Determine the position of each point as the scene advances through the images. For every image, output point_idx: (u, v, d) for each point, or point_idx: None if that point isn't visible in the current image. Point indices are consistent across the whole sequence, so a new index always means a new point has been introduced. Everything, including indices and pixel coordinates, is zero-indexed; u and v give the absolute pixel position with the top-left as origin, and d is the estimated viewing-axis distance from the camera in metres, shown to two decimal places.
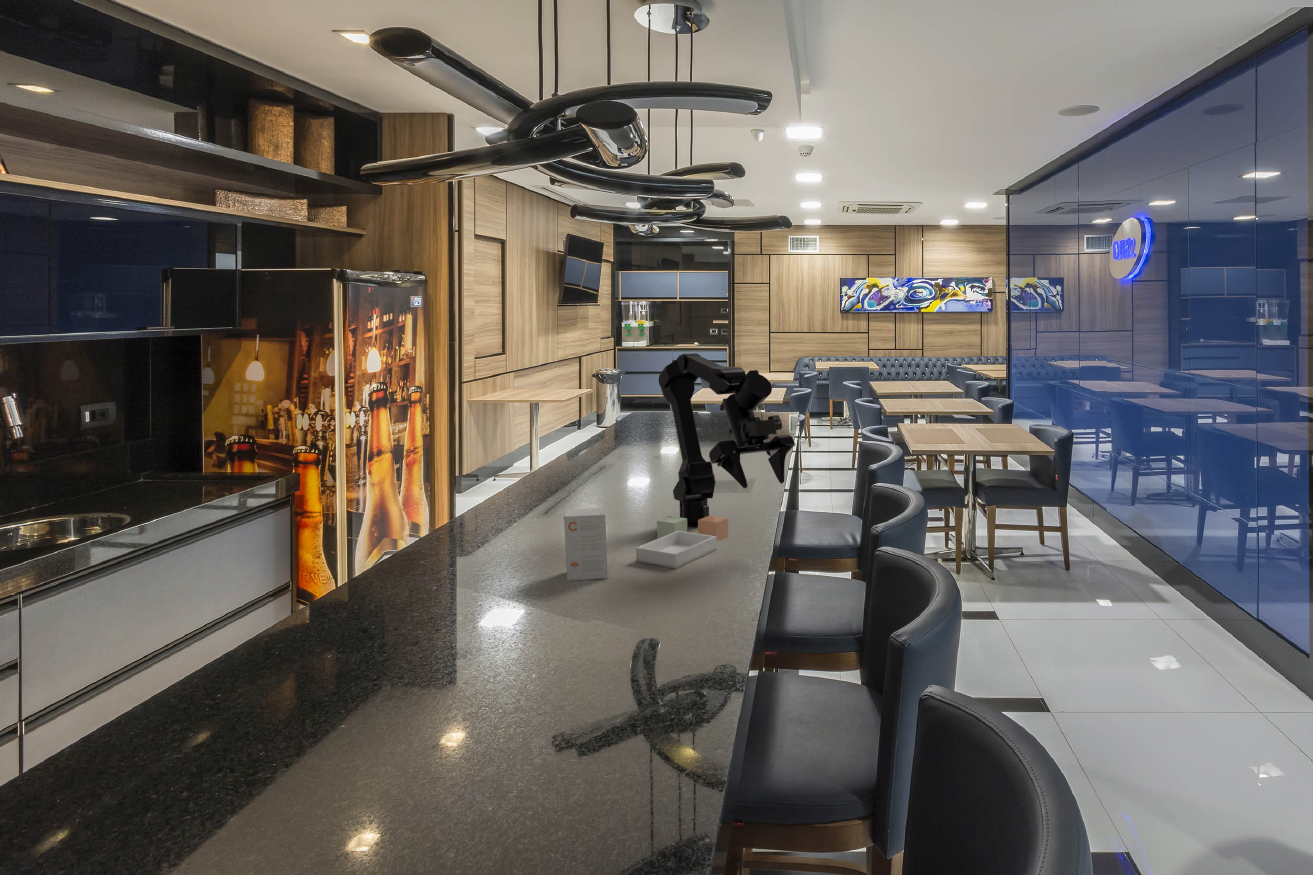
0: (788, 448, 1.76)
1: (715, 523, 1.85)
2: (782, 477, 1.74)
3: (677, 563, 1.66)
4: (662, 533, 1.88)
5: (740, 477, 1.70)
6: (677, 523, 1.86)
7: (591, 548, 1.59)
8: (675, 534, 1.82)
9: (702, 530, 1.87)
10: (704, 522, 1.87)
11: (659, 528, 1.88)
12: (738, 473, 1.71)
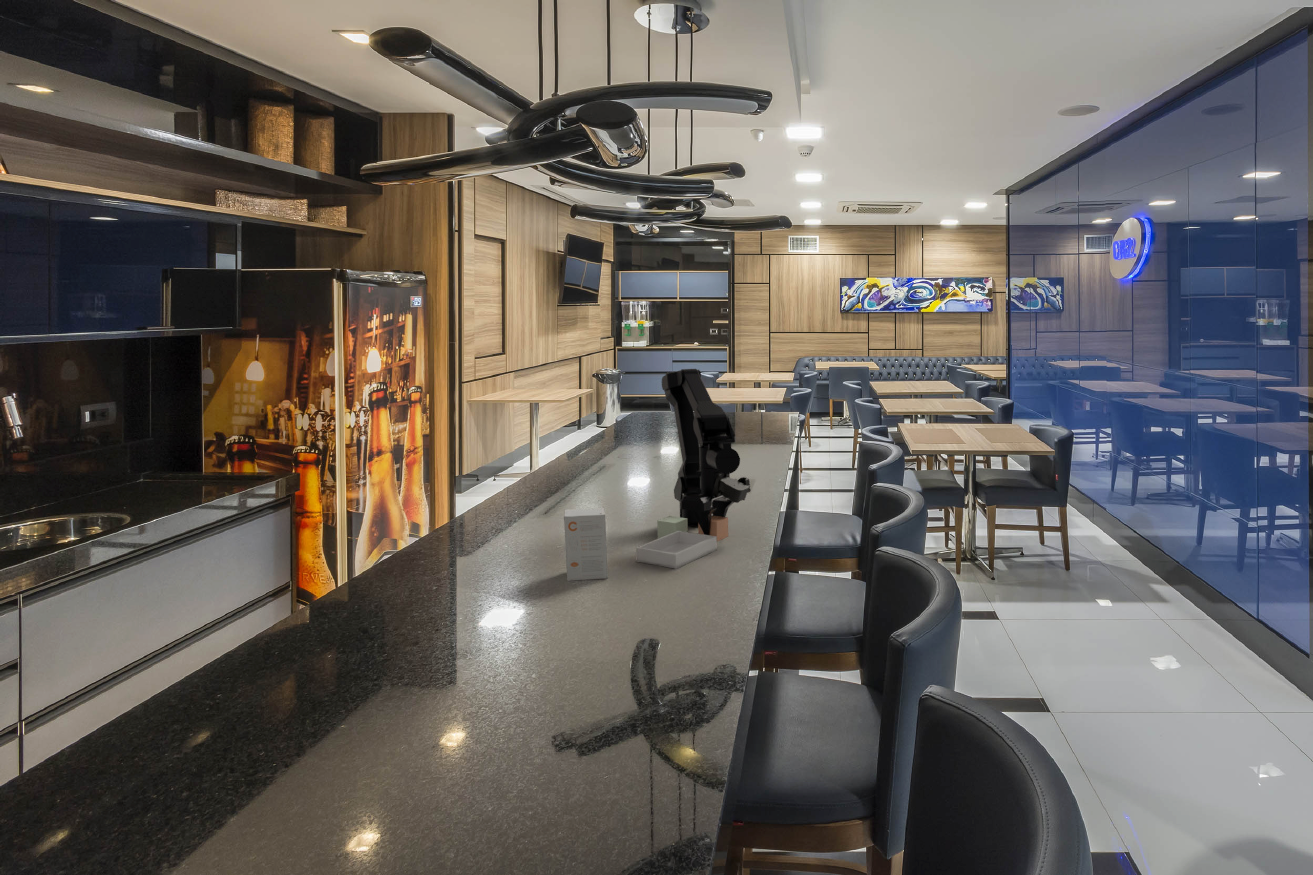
0: None
1: (715, 522, 1.85)
2: None
3: (677, 563, 1.66)
4: (663, 533, 1.88)
5: (706, 527, 1.85)
6: (677, 523, 1.86)
7: (591, 548, 1.59)
8: (675, 534, 1.82)
9: None
10: None
11: (659, 528, 1.88)
12: (706, 523, 1.85)
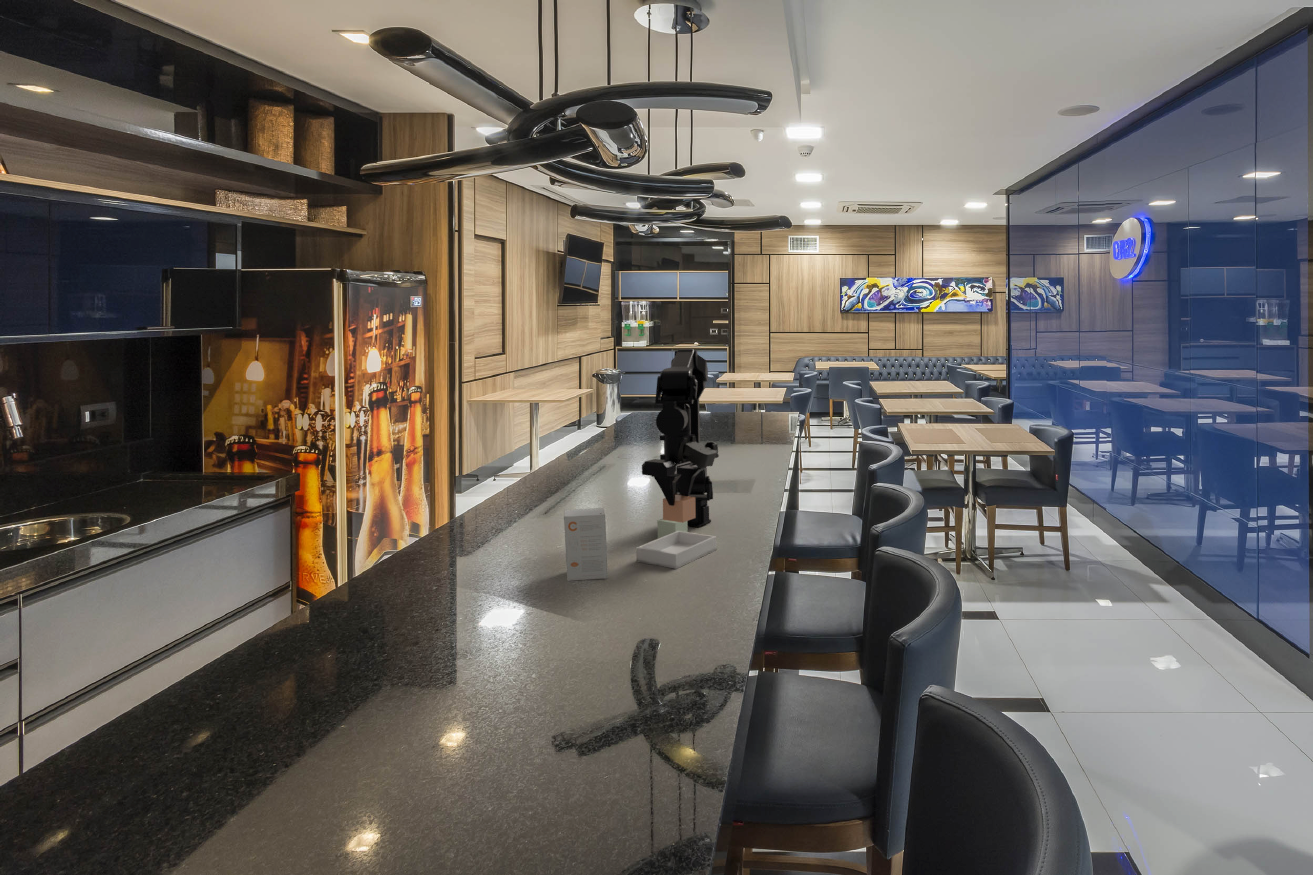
0: (701, 469, 1.75)
1: (681, 502, 1.70)
2: None
3: (677, 563, 1.66)
4: (663, 533, 1.88)
5: (671, 496, 1.70)
6: (677, 523, 1.86)
7: (591, 548, 1.59)
8: (675, 534, 1.82)
9: (667, 510, 1.72)
10: None
11: (659, 528, 1.88)
12: (671, 492, 1.70)
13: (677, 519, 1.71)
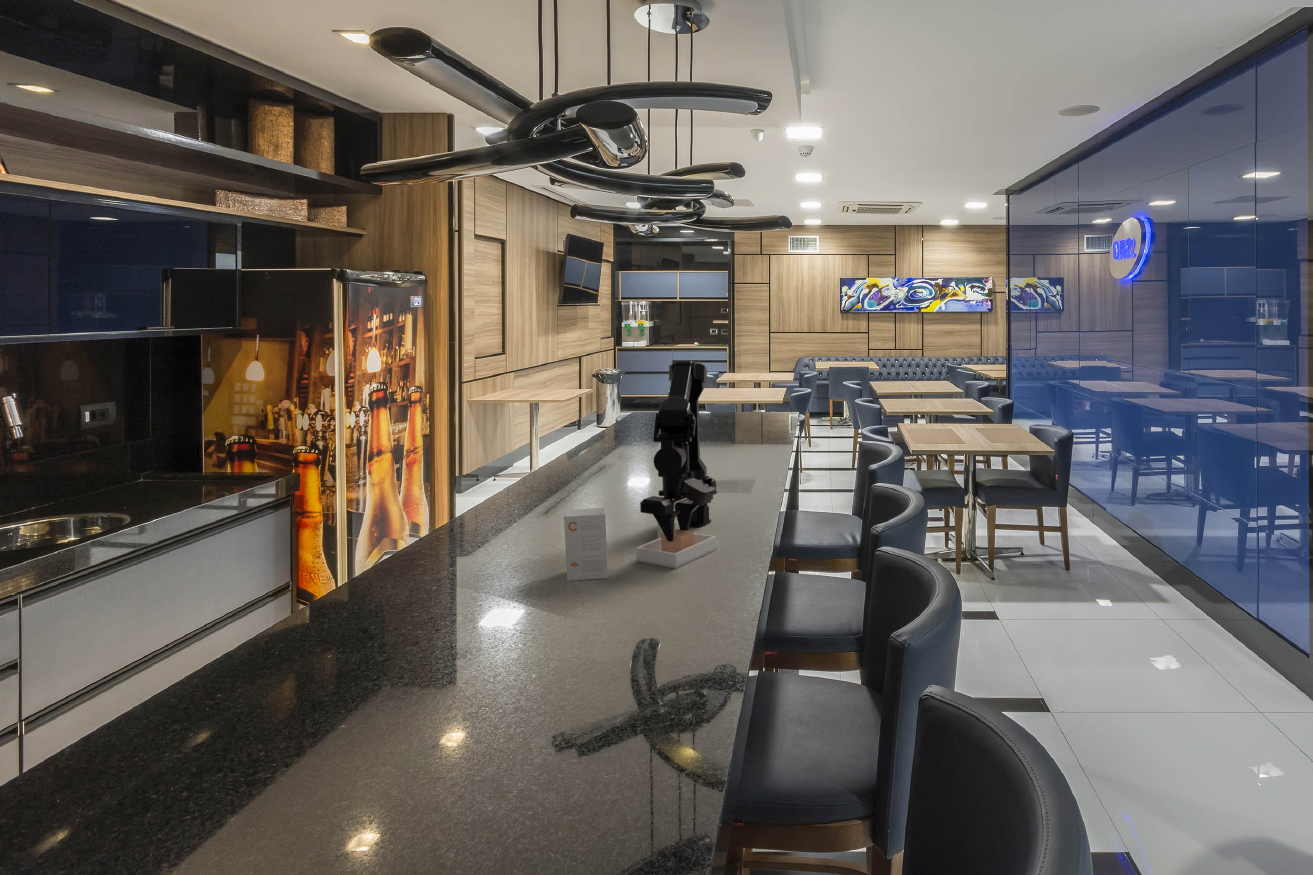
0: None
1: (679, 537, 1.71)
2: None
3: (677, 563, 1.66)
4: None
5: (669, 532, 1.71)
6: (677, 523, 1.86)
7: (591, 548, 1.59)
8: None
9: (666, 545, 1.73)
10: None
11: (659, 528, 1.88)
12: (669, 528, 1.71)
13: None
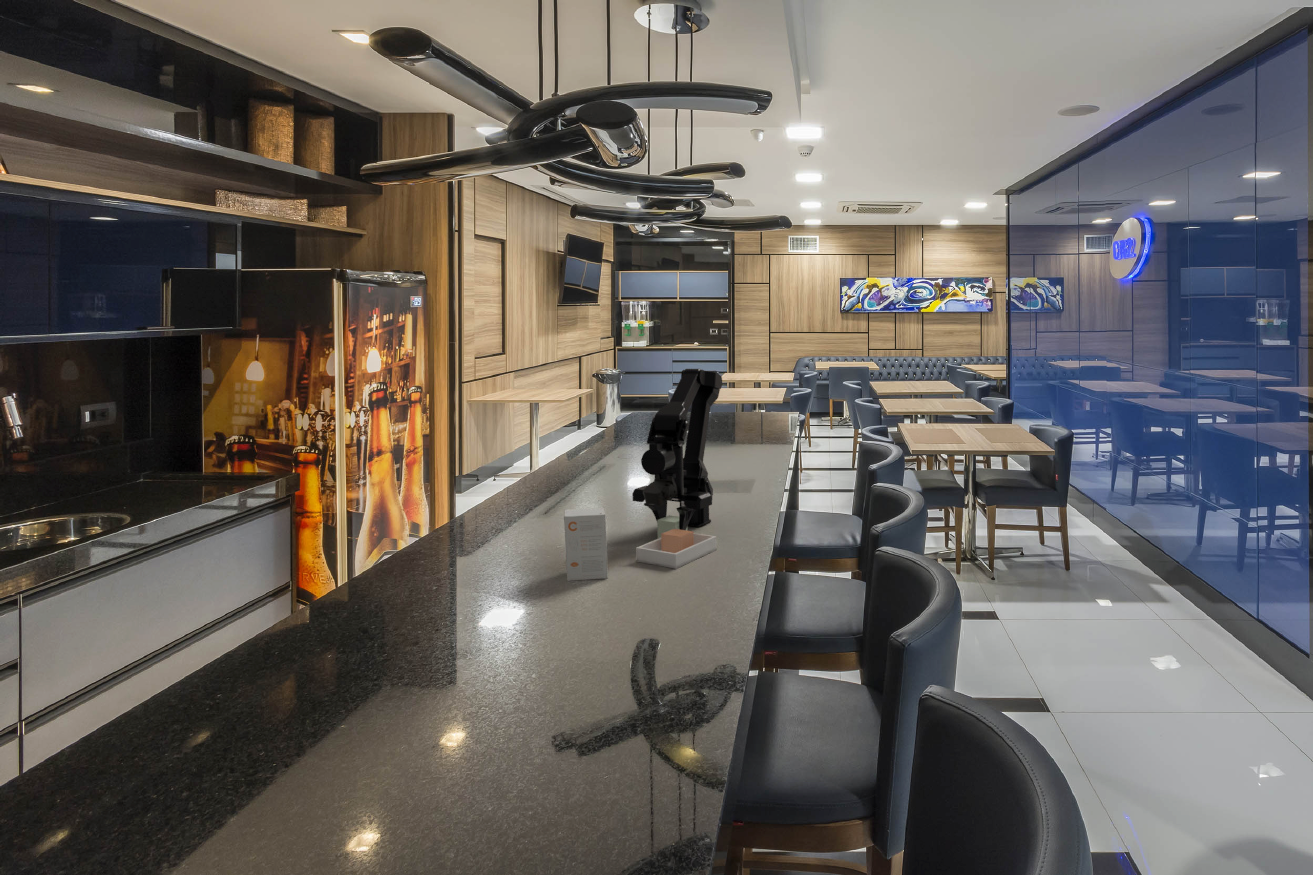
0: (683, 510, 1.83)
1: (679, 537, 1.71)
2: None
3: (677, 563, 1.66)
4: None
5: None
6: (677, 522, 1.86)
7: (591, 548, 1.59)
8: None
9: (666, 545, 1.73)
10: (667, 536, 1.73)
11: (659, 527, 1.88)
12: None
13: None
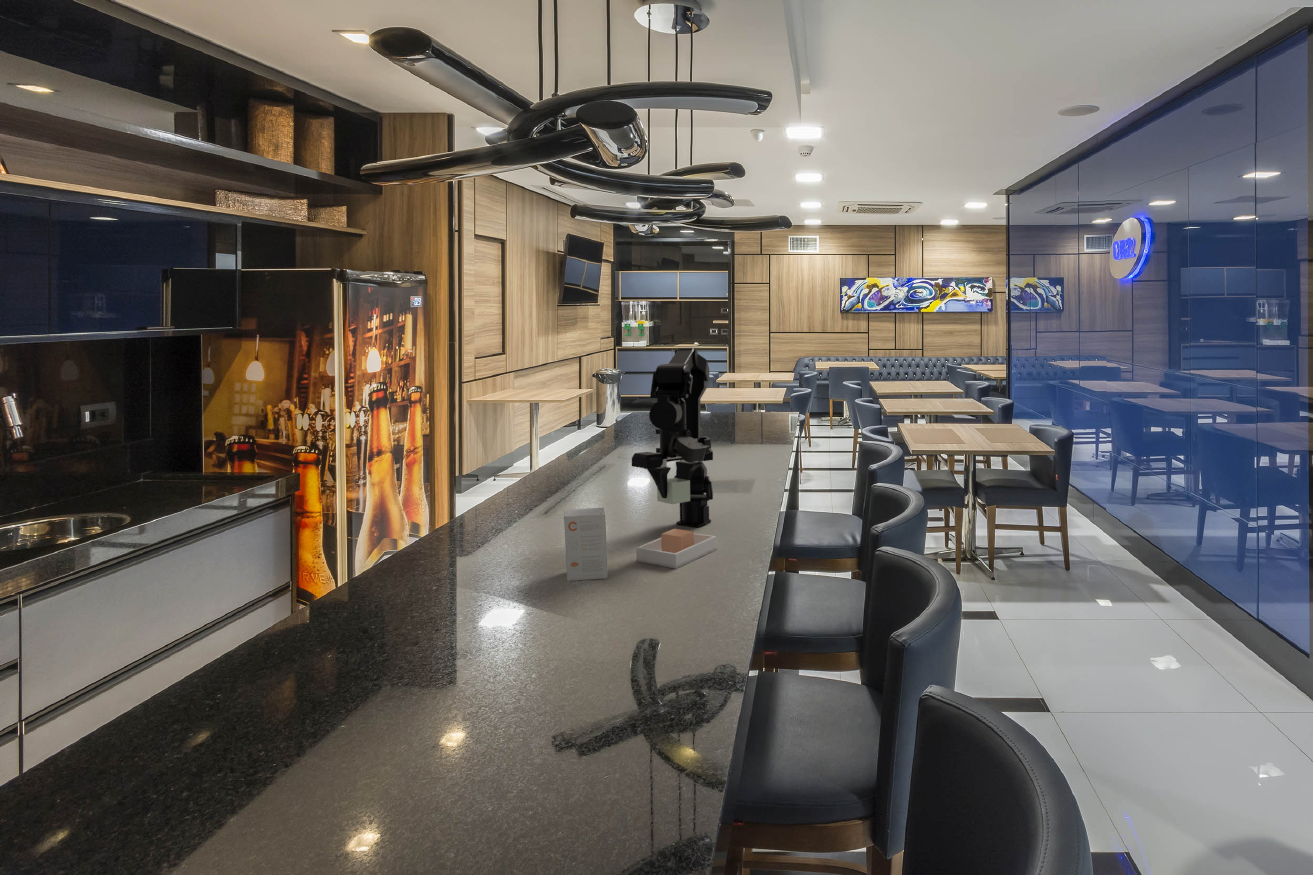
0: (699, 464, 1.77)
1: (679, 537, 1.71)
2: None
3: (677, 563, 1.66)
4: (677, 495, 1.74)
5: (662, 488, 1.73)
6: None
7: (591, 548, 1.59)
8: None
9: (666, 545, 1.73)
10: (667, 536, 1.73)
11: (674, 491, 1.73)
12: (662, 484, 1.73)
13: None
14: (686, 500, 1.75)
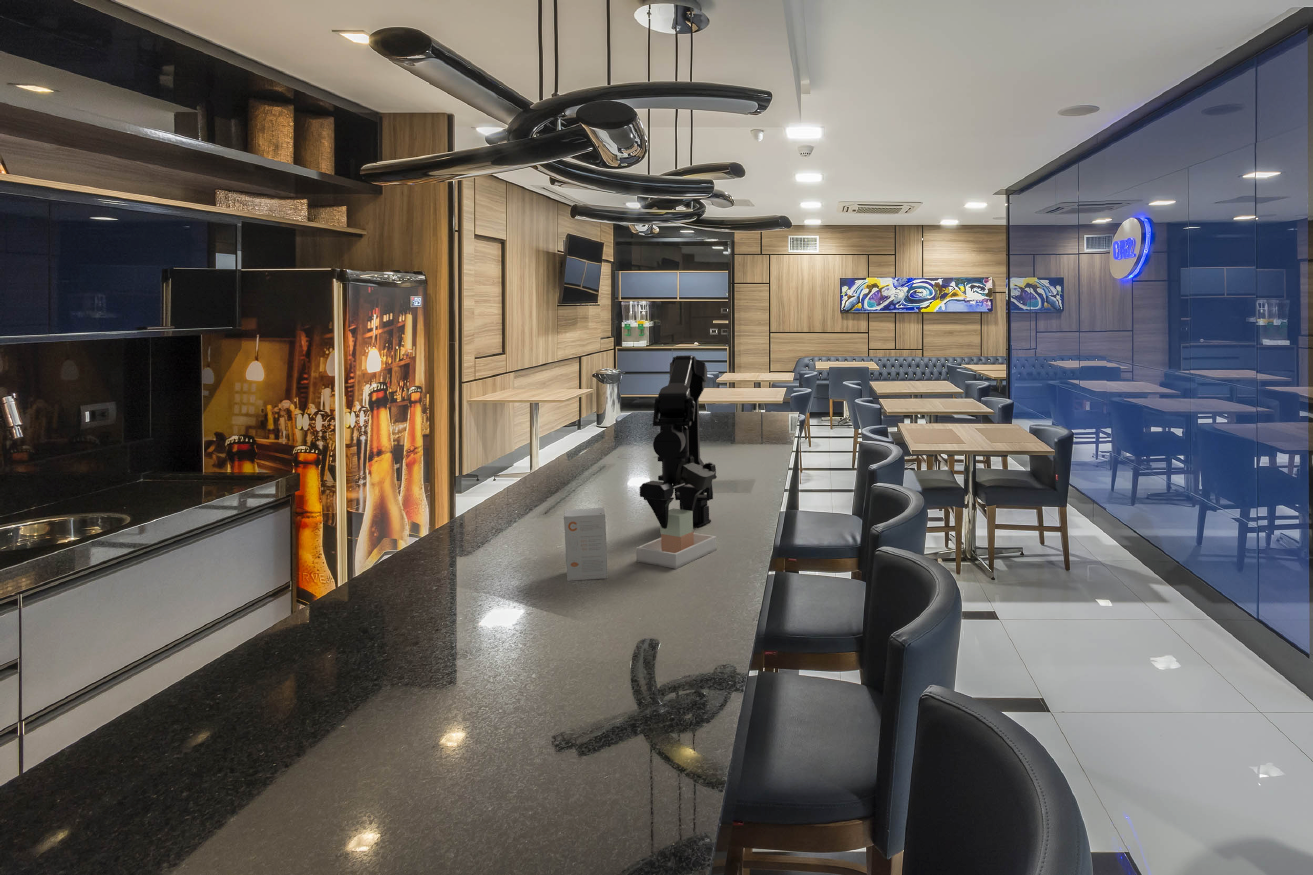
0: (704, 488, 1.77)
1: (679, 537, 1.71)
2: None
3: (677, 563, 1.66)
4: (683, 527, 1.72)
5: (663, 519, 1.69)
6: None
7: (591, 548, 1.59)
8: None
9: (666, 545, 1.73)
10: (667, 536, 1.73)
11: (681, 523, 1.71)
12: (663, 515, 1.68)
13: None
14: (690, 531, 1.74)
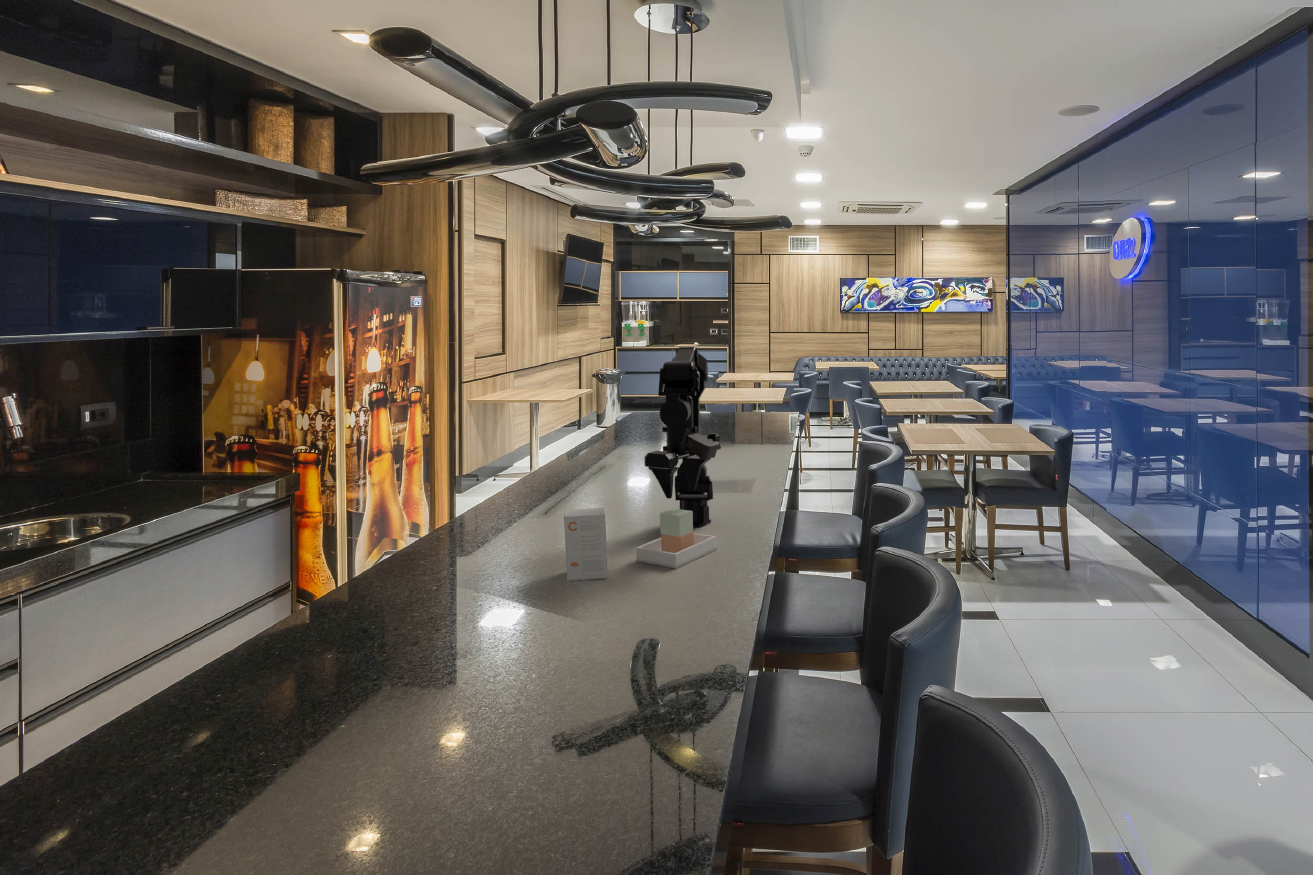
0: (709, 459, 1.78)
1: (679, 537, 1.71)
2: (695, 485, 1.78)
3: (677, 563, 1.66)
4: (683, 527, 1.72)
5: (668, 489, 1.70)
6: None
7: (591, 548, 1.59)
8: None
9: (666, 545, 1.73)
10: (667, 536, 1.73)
11: (681, 523, 1.71)
12: (668, 485, 1.69)
13: None
14: (690, 531, 1.74)
